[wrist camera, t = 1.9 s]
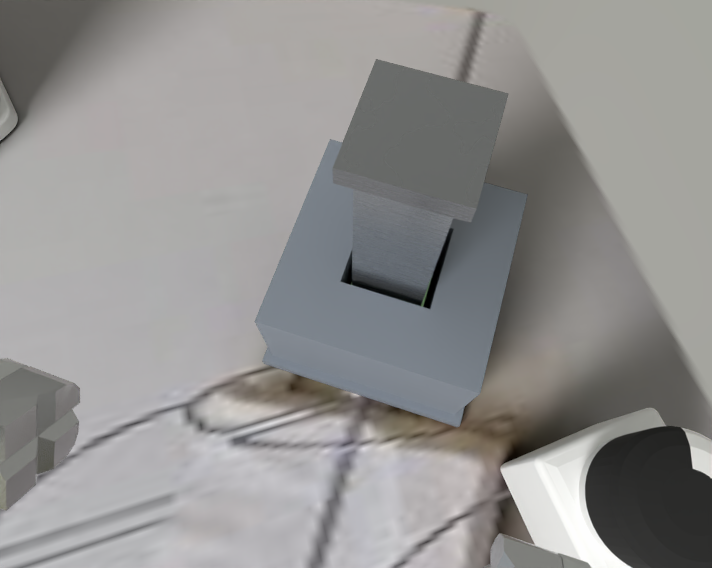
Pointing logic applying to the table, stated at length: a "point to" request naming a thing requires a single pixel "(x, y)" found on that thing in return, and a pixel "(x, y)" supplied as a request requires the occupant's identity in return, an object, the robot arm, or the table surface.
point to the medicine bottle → (620, 494)
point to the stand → (390, 306)
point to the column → (413, 172)
